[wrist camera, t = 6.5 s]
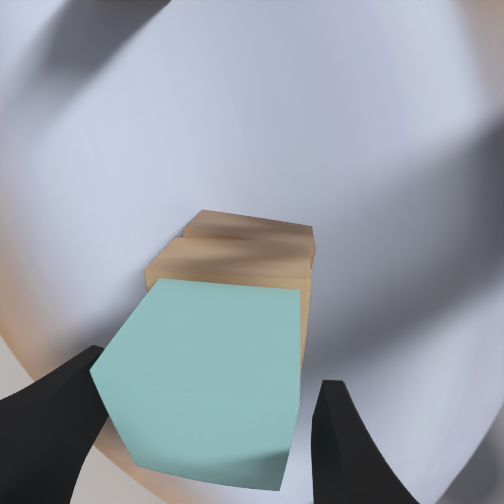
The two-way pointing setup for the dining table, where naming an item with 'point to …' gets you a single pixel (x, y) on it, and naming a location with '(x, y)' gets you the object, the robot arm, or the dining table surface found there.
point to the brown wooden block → (247, 229)
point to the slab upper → (238, 267)
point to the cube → (207, 381)
